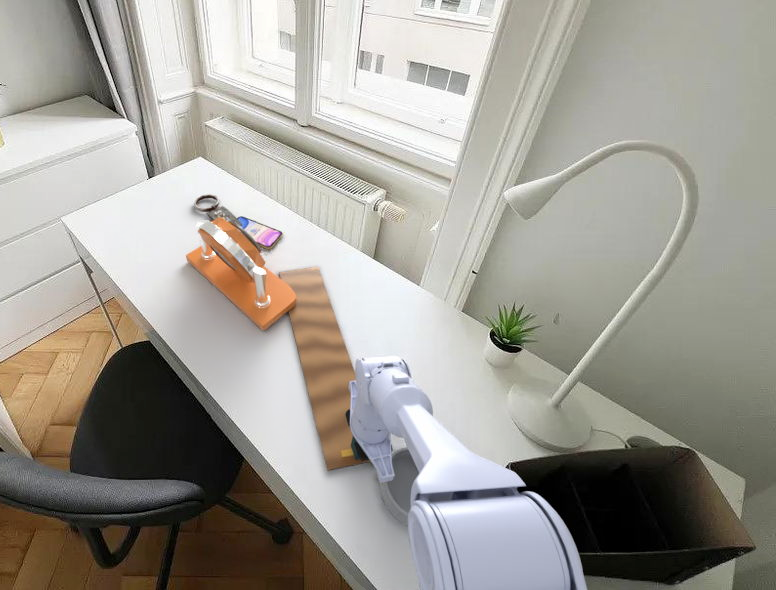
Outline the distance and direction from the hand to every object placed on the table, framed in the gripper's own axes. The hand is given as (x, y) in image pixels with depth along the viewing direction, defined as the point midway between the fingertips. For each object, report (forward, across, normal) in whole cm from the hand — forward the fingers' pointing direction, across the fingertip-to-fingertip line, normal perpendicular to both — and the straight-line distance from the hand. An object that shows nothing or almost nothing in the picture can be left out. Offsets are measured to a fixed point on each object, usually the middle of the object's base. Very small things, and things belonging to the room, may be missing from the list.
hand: (363, 448), depth 68 cm
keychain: (+2, +70, +21) cm, 73 cm away
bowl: (+2, -7, -6) cm, 9 cm away
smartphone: (+2, +59, +11) cm, 60 cm away
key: (+1, 0, 0) cm, 1 cm away
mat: (+2, +21, +2) cm, 21 cm away
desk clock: (+2, +43, +16) cm, 46 cm away
